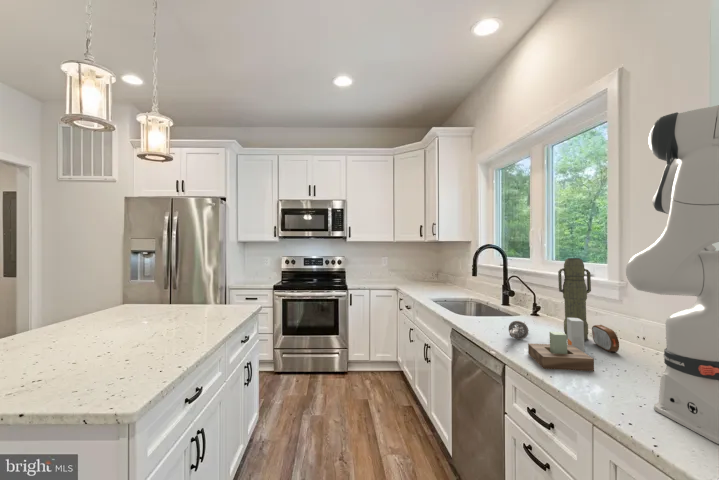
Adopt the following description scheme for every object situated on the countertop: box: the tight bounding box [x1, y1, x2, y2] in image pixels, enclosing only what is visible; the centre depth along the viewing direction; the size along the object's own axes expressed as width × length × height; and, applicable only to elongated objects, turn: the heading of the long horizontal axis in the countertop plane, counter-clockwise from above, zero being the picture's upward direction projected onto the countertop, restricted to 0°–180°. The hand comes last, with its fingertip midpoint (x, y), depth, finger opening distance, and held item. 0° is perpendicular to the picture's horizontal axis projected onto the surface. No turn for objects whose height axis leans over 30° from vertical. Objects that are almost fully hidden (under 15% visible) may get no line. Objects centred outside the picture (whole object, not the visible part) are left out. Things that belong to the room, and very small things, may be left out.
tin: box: [591, 324, 620, 353], centre depth 127 cm, size 15×3×8 cm, turn 168°
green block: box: [549, 331, 568, 354], centre depth 113 cm, size 4×4×9 cm
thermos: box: [557, 257, 592, 342], centre depth 142 cm, size 9×12×35 cm
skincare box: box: [567, 318, 586, 354], centre depth 126 cm, size 6×4×12 cm
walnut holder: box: [527, 343, 595, 372], centre depth 113 cm, size 15×15×4 cm
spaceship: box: [508, 320, 529, 340], centre depth 142 cm, size 8×35×8 cm
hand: (650, 272), depth 106 cm, fingers open, 8 cm apart
